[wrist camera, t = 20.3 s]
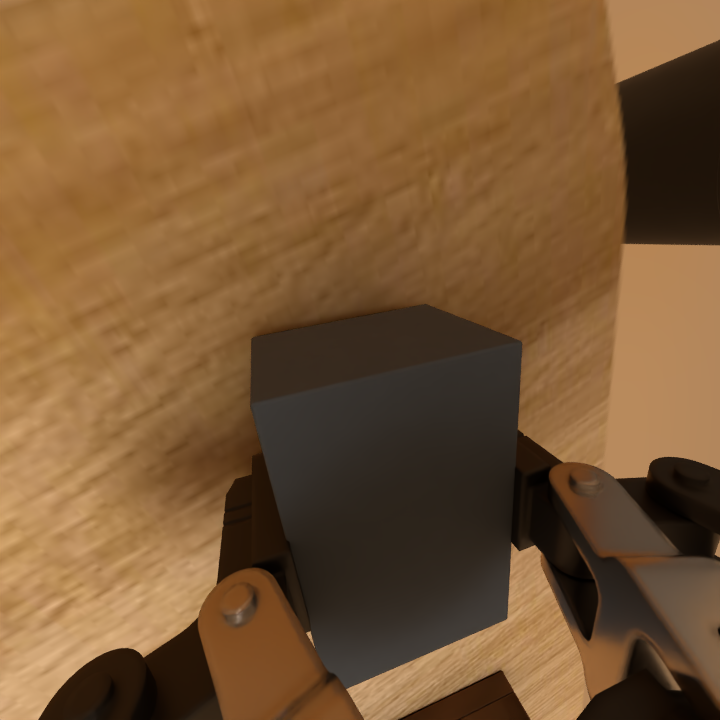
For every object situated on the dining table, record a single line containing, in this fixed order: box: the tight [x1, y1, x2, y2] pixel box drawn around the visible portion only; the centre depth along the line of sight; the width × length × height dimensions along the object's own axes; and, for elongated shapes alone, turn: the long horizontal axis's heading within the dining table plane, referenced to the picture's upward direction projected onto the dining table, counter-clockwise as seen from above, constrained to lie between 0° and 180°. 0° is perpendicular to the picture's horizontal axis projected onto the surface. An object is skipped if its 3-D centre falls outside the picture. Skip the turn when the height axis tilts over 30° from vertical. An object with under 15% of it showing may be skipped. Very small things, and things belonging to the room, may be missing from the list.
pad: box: [250, 304, 522, 689], centre depth 9 cm, size 5×8×4 cm, turn 7°
